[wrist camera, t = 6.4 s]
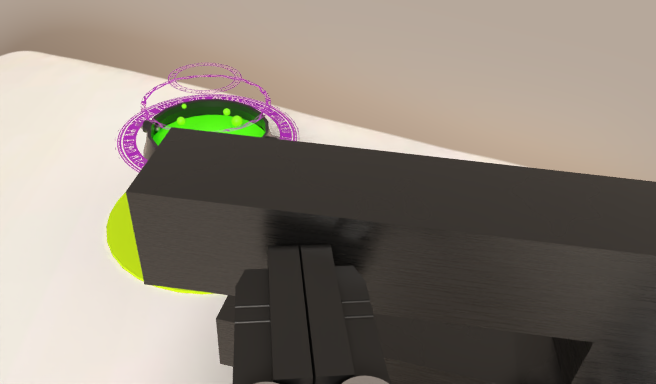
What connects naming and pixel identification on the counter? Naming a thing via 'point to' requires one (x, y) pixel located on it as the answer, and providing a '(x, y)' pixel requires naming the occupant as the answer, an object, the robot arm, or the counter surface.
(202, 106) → the toy cauldron
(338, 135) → the counter surface
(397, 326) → the cooker pot
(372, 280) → the lid
